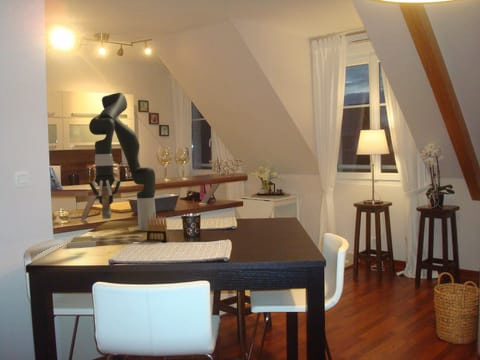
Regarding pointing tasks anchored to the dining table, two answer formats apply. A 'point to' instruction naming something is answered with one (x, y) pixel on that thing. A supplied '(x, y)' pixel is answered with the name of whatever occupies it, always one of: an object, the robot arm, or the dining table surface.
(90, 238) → the chip
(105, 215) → the rake tool
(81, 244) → the tray
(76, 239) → the chip
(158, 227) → the ammunition clip
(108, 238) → the slot channel
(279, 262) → the dining table surface
